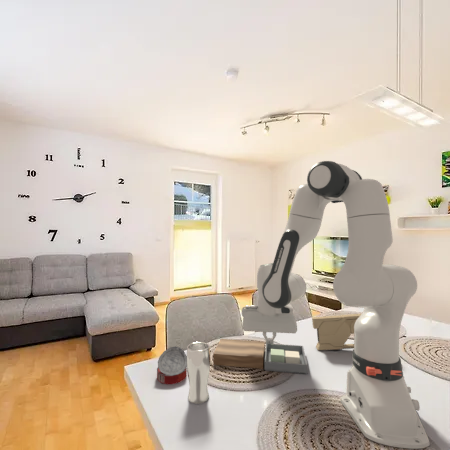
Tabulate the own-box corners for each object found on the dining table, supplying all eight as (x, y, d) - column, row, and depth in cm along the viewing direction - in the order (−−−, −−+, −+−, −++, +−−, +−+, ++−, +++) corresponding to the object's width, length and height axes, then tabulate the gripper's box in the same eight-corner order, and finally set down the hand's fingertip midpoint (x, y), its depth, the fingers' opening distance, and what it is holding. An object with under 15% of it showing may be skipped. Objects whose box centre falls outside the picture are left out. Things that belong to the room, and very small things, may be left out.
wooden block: (263, 369, 98) (263, 357, 98) (213, 364, 101) (213, 353, 101) (264, 351, 112) (264, 341, 112) (220, 348, 115) (220, 338, 115)
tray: (307, 374, 94) (307, 365, 94) (264, 370, 97) (264, 361, 97) (302, 353, 110) (302, 345, 110) (266, 350, 113) (265, 343, 113)
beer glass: (188, 407, 77) (188, 352, 77) (185, 392, 84) (185, 343, 84) (212, 402, 79) (212, 349, 79) (207, 389, 86) (207, 340, 86)
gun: (376, 349, 113) (372, 312, 114) (380, 353, 110) (376, 315, 110) (315, 352, 116) (311, 316, 116) (317, 356, 112) (313, 318, 113)
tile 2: (285, 356, 101) (285, 363, 101) (299, 357, 100) (299, 364, 100) (285, 350, 106) (285, 357, 106) (298, 351, 105) (298, 358, 105)
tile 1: (284, 362, 102) (284, 355, 102) (270, 361, 103) (270, 354, 103) (284, 356, 107) (284, 349, 107) (270, 355, 108) (270, 348, 108)
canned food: (186, 385, 96) (199, 362, 95) (167, 398, 87) (181, 372, 86) (164, 363, 101) (176, 340, 100) (144, 373, 92) (157, 348, 91)
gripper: (240, 307, 103) (241, 345, 103) (297, 309, 100) (298, 348, 99) (242, 303, 109) (242, 338, 109) (295, 305, 106) (296, 341, 106)
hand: (269, 343), depth 104 cm, fingers closed
